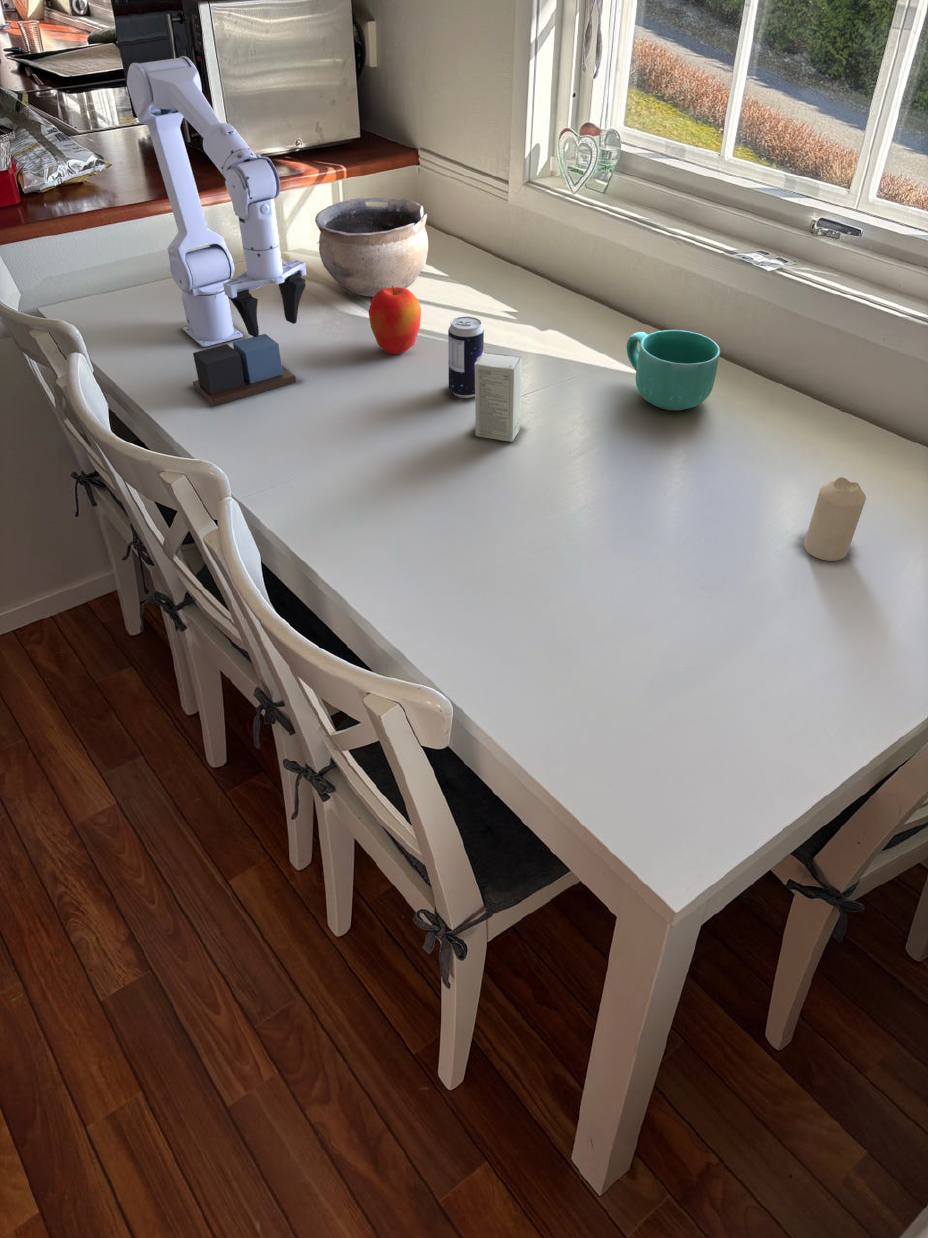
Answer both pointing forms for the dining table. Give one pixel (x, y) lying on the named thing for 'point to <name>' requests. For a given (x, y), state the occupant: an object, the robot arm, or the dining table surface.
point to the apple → (395, 319)
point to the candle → (834, 519)
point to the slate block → (259, 358)
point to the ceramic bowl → (373, 243)
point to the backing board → (246, 388)
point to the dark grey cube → (219, 369)
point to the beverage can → (464, 354)
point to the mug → (673, 367)
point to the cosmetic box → (497, 396)
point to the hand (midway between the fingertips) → (272, 328)
